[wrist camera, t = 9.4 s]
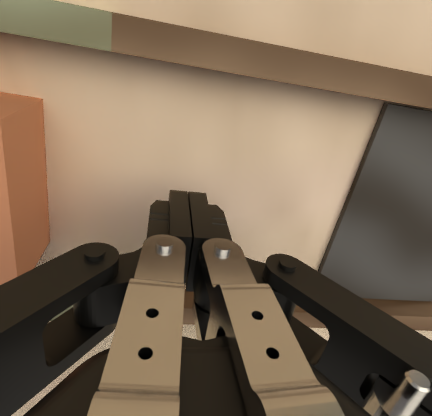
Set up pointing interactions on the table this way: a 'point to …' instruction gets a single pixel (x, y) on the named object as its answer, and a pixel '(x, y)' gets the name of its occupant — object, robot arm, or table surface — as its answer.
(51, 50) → the table surface
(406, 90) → the lane
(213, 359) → the robot arm
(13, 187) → the block
